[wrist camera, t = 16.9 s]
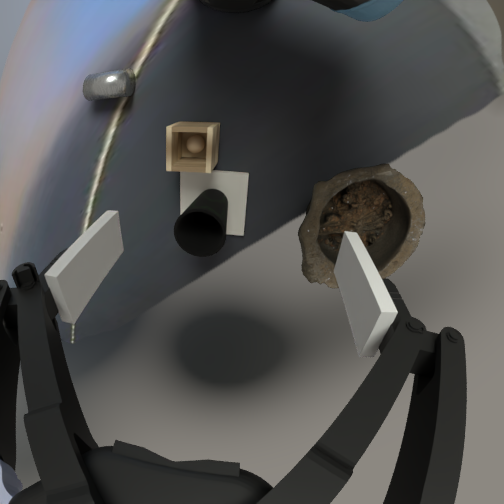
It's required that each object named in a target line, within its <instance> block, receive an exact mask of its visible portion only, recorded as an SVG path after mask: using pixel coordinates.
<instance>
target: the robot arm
mask: <svg viewBox="0 0 504 504" xmlns="http://www.w3.org/2000/svg"><path fill="white" fill-rule="evenodd" d="M200 1H201V2H202V3H203V4H205V5H206V6H208V7H210V8H212V9H215V10H218V11H222V12H229V13H239V12H247V11H251V10H255V9H257V8H260V7H262V6H264V5H266V4H267V3H269V2H270V1H272V0H200ZM312 1H315V2H317V3H320V4H322V5H324V6H326V7H329V8H330V9H331V10H333V11H334V12H338V13H343V14H345V15H347V16H349V17H351V18H354V19H356V20H358V21H365V22H369V21H374V20H377V19H380V18H382V17H383V16H385V15H387V14H388V13H390V12H391V11H392V10H393V9H395V8H396V7H397V6H398V5H399V4H400V3H401V2H402V1H403V0H312ZM123 251H124V249H123V243H122V236H121V229H120V222H119V214H118V211H109V210H107V211H106V212H105V213H104V214H103V215H102V216H101V217H100V218H99V219H98V220H97V221H96V222H94V223H93V224H92V225H91V226H90V227H89V228H88V229H87V230H86V231H85V232H84V233H83V234H82V235H81V236H80V237H79V238H78V239H77V240H76V241H75V242H74V243H73V244H72V245H71V246H70V247H69V248H67V249H65V250H63V251H62V252H60V253H59V254H58V255H57V256H56V257H55V258H54V260H52V261H51V262H50V264H49V265H48V266H47V267H46V268H45V269H44V270H43V271H42V272H41V274H40V275H39V276H38V273H37V270H36V267H35V265H34V264H33V263H30V262H27V263H23V264H21V265H19V266H18V267H16V268H15V269H14V270H13V272H12V276H13V279H14V282H15V284H16V286H17V288H9V285H8V283H7V281H5V280H0V504H330V503H331V502H332V500H333V499H334V498H335V497H336V496H337V494H338V493H339V492H340V491H341V489H342V488H343V487H344V485H345V484H346V483H347V481H348V480H349V478H350V477H351V475H352V473H353V468H354V467H355V465H356V464H357V462H358V461H359V459H360V458H361V456H362V455H363V453H364V452H365V451H366V449H367V447H368V446H369V444H370V443H371V441H372V440H373V438H374V436H375V435H376V433H377V432H378V430H379V428H380V427H381V425H382V423H383V422H384V420H385V418H386V417H387V415H388V413H389V411H390V410H391V408H392V406H393V404H394V402H395V400H396V398H397V397H398V395H399V393H400V391H401V389H402V387H403V385H404V383H405V381H406V379H407V376H408V375H409V373H413V374H415V376H414V383H413V390H412V396H411V402H410V407H409V413H408V418H407V422H406V427H405V431H404V436H403V440H402V444H401V448H400V452H399V456H398V459H397V463H396V466H395V470H394V473H393V476H392V479H391V482H390V485H389V488H388V491H387V494H386V497H385V500H384V502H383V504H454V502H455V498H456V493H457V488H458V482H459V477H460V471H461V465H462V457H463V449H464V439H465V426H466V402H467V400H466V399H467V393H466V392H467V388H466V387H467V386H466V384H467V382H466V358H465V344H464V339H463V336H462V335H461V333H460V332H459V331H457V330H456V329H454V328H451V327H445V328H443V329H442V330H441V332H440V334H437V333H433V332H429V331H426V328H425V325H424V324H423V323H422V322H421V321H420V320H418V319H416V318H413V317H411V315H410V313H409V311H408V309H407V307H406V305H405V303H404V301H403V300H402V297H401V295H400V294H399V292H398V290H397V288H396V286H395V285H394V284H393V283H392V282H391V281H390V280H389V279H383V278H381V277H380V275H379V273H378V271H377V269H376V267H375V265H374V263H373V261H372V259H371V257H370V256H369V254H368V252H367V250H366V248H365V246H364V244H363V243H362V241H361V239H360V237H359V236H358V234H357V233H356V232H348V231H344V235H343V239H342V243H341V247H340V250H339V254H338V258H337V261H336V265H335V268H334V274H335V277H336V280H337V283H338V286H339V289H340V292H341V296H342V299H343V302H344V306H345V309H346V313H347V316H348V320H349V323H350V327H351V330H352V334H353V337H354V341H355V344H356V348H357V352H358V356H359V357H374V355H375V354H376V352H377V350H378V349H379V350H380V353H381V355H380V357H379V359H378V360H377V362H376V363H375V365H374V366H373V368H372V369H371V371H370V372H369V374H368V375H367V377H366V378H365V380H364V381H363V383H362V384H361V386H360V387H359V388H358V390H357V391H356V393H355V394H354V396H353V397H352V399H351V400H350V401H349V402H348V404H347V405H346V407H345V408H344V409H343V411H342V412H341V413H340V414H339V416H338V417H337V418H336V420H335V421H334V422H333V423H332V425H331V426H330V427H329V429H328V430H327V431H326V432H325V433H324V435H323V436H322V437H321V438H320V439H319V440H318V442H317V443H316V444H315V445H314V446H313V447H312V448H311V449H310V450H309V452H308V453H307V454H306V455H305V456H304V457H303V458H302V459H301V460H300V461H299V462H298V464H297V465H296V466H295V467H294V468H293V469H292V470H291V471H290V472H289V473H288V474H287V475H286V476H285V477H284V478H283V479H282V480H281V481H280V482H279V483H278V484H277V485H276V486H275V487H274V488H273V487H272V486H271V485H270V484H269V483H267V482H266V481H265V480H263V479H262V478H261V477H259V476H257V475H255V474H253V473H251V472H248V471H246V470H243V469H240V463H235V462H224V461H215V460H198V461H197V460H196V461H180V462H175V461H171V460H168V459H166V458H164V457H162V456H160V455H158V454H156V453H154V452H151V451H150V450H148V449H145V448H143V447H139V446H136V445H132V444H128V443H125V442H121V441H118V440H115V443H114V446H104V447H98V445H97V443H96V442H95V441H94V439H93V437H92V435H91V433H90V431H89V428H88V426H87V423H86V421H85V418H84V415H83V413H82V410H81V407H80V404H79V401H78V398H77V395H76V392H75V389H74V386H73V383H72V380H71V377H70V373H69V370H68V366H67V362H66V358H65V355H64V351H63V347H62V342H61V338H60V333H59V328H58V324H57V321H56V318H55V316H56V315H57V313H58V312H59V314H60V316H61V319H62V321H65V322H69V323H73V324H75V322H76V320H77V319H78V317H79V316H80V314H81V312H82V311H83V309H84V308H85V306H86V305H87V303H88V302H89V300H90V298H91V297H92V295H93V294H94V292H95V291H96V289H97V288H98V286H99V285H100V284H101V282H102V281H103V279H104V278H105V276H106V275H107V273H108V272H109V271H110V269H111V268H112V266H113V265H114V264H115V262H116V261H117V259H118V258H119V257H120V255H121V254H122V253H123ZM20 360H21V369H22V376H23V383H24V389H25V395H26V400H27V405H28V414H25V415H24V423H25V428H26V432H27V436H28V440H29V444H30V448H31V451H32V454H33V458H34V461H35V464H36V467H37V470H38V473H39V476H40V479H41V480H40V481H39V482H37V483H35V484H33V485H31V486H30V487H28V488H26V489H24V490H22V487H23V486H22V483H21V481H20V480H19V479H18V478H17V475H16V473H15V465H16V429H15V428H16V397H17V384H18V374H19V366H20ZM21 490H22V491H21Z"/></svg>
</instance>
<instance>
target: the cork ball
mask: <svg viewBox="0 0 504 504" xmlns="http://www.w3.org/2000/svg"><path fill="white" fill-rule="evenodd" d="M204 146H205V141H204V139H203V138H202V137H201V136H199V135H193V136H191V137H190V138H189V139H188V140H187V148H188V150H189V151H190V152H192V153H198V152H200V151H202V150H203V148H204Z"/></svg>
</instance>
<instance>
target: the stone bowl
mask: <svg viewBox="0 0 504 504" xmlns="http://www.w3.org/2000/svg"><path fill="white" fill-rule="evenodd" d="M422 202H423V197H422V195H421V194H420V192H419V190H418V189H417V188H416V186H415V185H414V183H412V181H411V180H409V179H408V178H405V177H404V176H403V175H402V174H401V173H400V172H398V171H396V170H395V169H392V168H391V167H390V165H389V164H380V165H377V166H372V167H364V168H355V169H351V170H347V171H344V172H341V173H339V174H337V175H336V176H334V177H333V178H331V179H330V180H329V181H327V182H326V181H322V182H321V181H318V183H317V184H315V185H314V188H313V194H312V199H311V201H310V203H309V205H308V208H307V211H306V216H305V219H304V221H303V223H302V224H301V226H300V228H299V232H298V236H299V240H300V243H301V248H302V253H303V255H302V256H303V261H302V272H303V275H304V276H305V277H306V278H307V279H308V281H309V282H310V283H313V282H318V283H319V284H322V283H325V284H326V285H328V287H330V288H339V286H338V283H337V280H336V277H335V274H334V268H335V265H336V261H337V258H338V254H339V250H340V247H341V243H342V239H343V235H344V231H348V232H356V233H357V234H358V236H359V237H360V239H361V241H362V243H363V244H364V246H365V248H366V250H367V252H368V254H369V256H370V257H371V259H372V261H373V263H374V265H375V267H376V269H377V271H378V273H379V275H380V277H381V278H383V279H385V278H386V277H387V276H390V275H391V274H392V273H394V272H395V271H396V270H397V269H398V268H399V267H401V266H402V265H403V264H404V262H405V261H406V260H407V259H408V258H409V257H410V256H411V255H412V253H413V252H414V251H415V249H416V248H417V246H418V242H419V238H420V235H422V232H423V228H424V226H425V212H424V209H423V204H422Z"/></svg>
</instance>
